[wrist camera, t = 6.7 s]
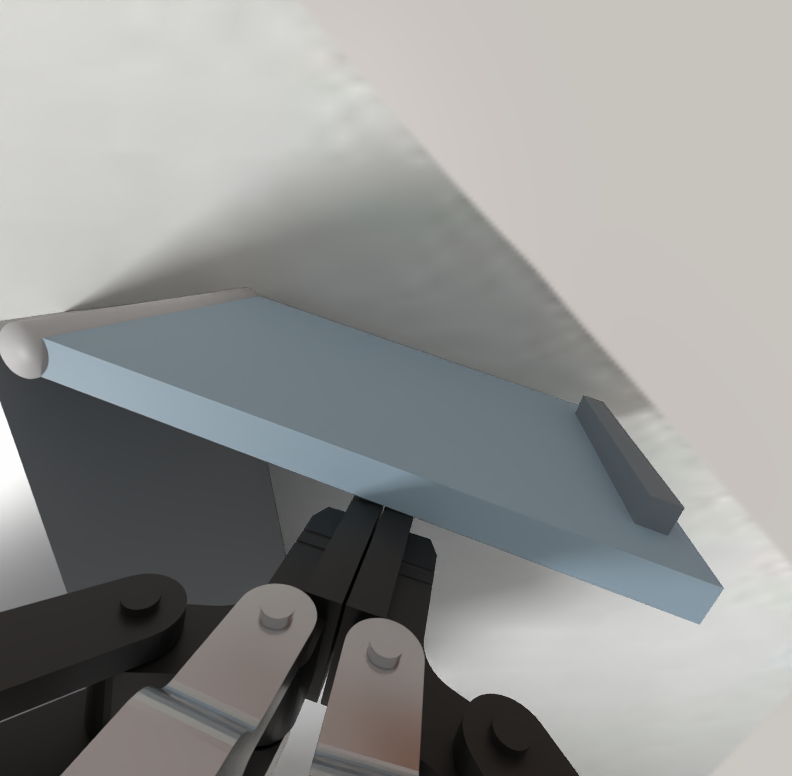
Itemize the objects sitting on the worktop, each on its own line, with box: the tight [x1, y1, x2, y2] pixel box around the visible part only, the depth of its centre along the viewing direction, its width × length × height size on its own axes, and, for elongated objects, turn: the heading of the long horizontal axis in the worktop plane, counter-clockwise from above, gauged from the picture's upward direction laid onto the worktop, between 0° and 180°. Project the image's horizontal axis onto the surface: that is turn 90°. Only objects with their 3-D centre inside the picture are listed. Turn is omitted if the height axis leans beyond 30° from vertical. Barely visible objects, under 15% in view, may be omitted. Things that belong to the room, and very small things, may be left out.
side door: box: [0, 288, 724, 624], centre depth 16 cm, size 17×2×11 cm, turn 73°
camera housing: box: [0, 305, 286, 723], centre depth 20 cm, size 23×10×13 cm, turn 7°
